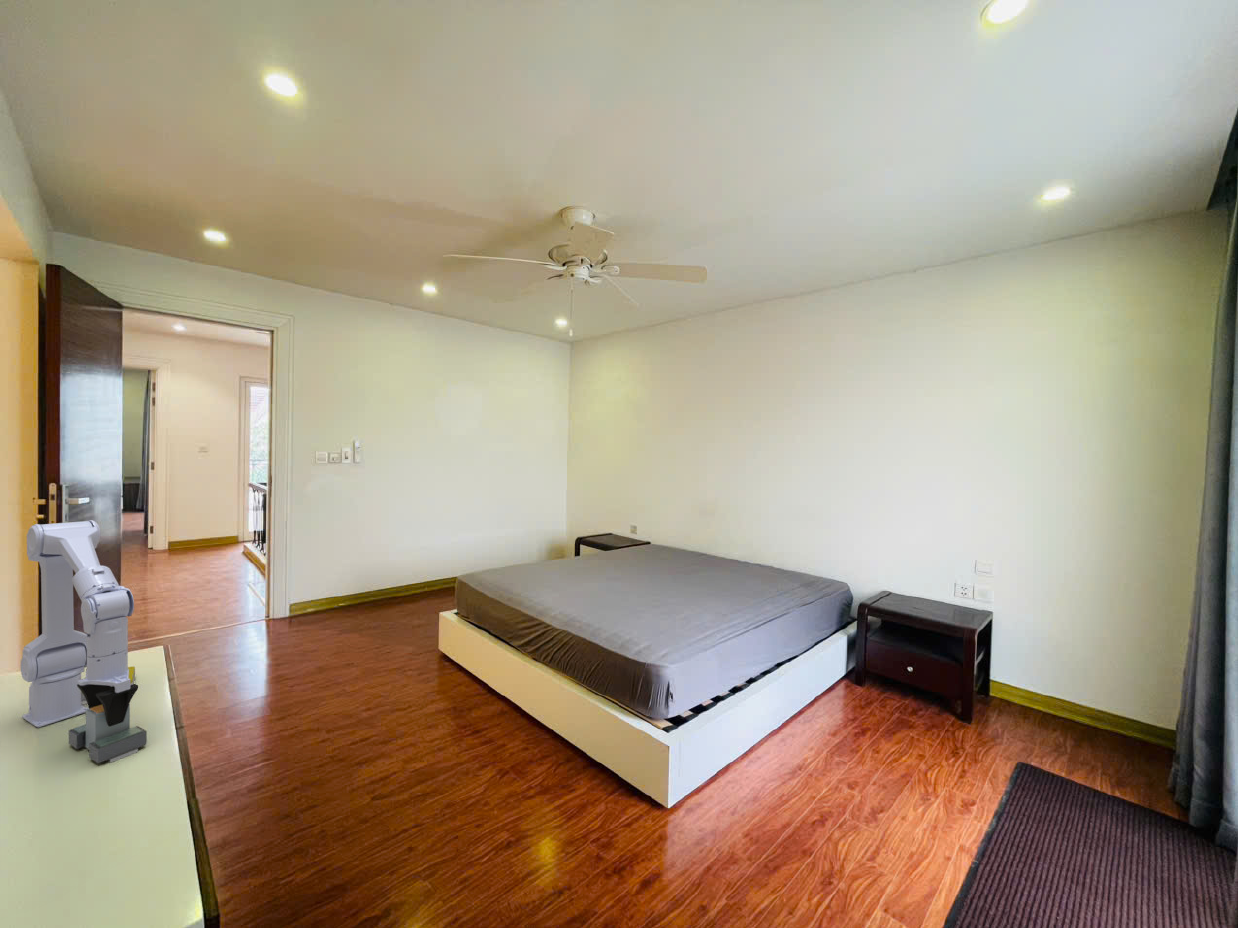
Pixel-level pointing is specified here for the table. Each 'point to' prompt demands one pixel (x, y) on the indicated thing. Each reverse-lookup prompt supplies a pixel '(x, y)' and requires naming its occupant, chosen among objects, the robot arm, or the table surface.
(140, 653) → the table surface
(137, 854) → the table surface
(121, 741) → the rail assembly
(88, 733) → the block
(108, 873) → the table surface
